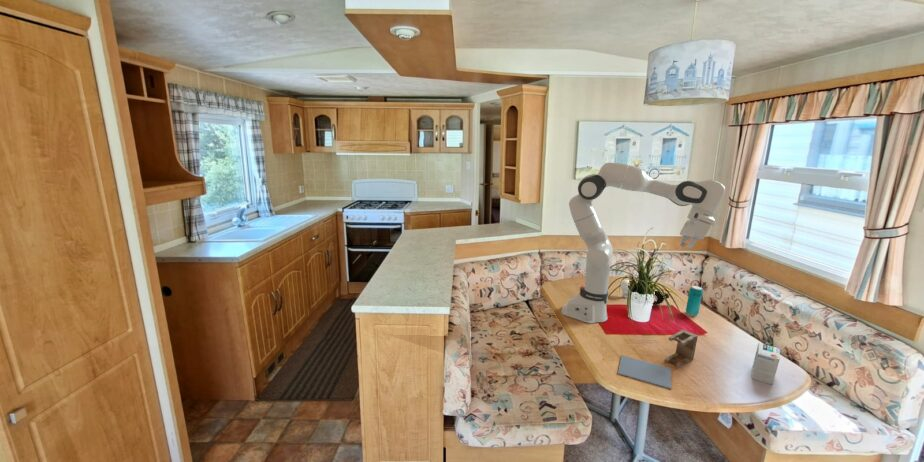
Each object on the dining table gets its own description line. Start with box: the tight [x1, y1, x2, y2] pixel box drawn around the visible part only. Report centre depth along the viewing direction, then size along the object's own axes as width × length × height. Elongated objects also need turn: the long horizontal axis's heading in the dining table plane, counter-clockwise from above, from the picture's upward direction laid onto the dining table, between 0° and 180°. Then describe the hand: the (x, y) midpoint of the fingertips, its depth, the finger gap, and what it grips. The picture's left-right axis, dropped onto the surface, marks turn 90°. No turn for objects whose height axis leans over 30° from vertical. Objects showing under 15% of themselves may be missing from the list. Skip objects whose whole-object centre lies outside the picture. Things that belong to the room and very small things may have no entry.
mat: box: [617, 355, 672, 390], centre depth 145 cm, size 18×14×1 cm
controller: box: [653, 291, 670, 305], centre depth 206 cm, size 4×12×10 cm, turn 26°
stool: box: [664, 329, 699, 369], centre depth 152 cm, size 12×6×11 cm, turn 125°
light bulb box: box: [751, 342, 781, 386], centre depth 144 cm, size 11×7×11 cm, turn 140°
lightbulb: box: [619, 279, 630, 299], centre depth 213 cm, size 6×6×11 cm
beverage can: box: [685, 285, 704, 317], centre depth 194 cm, size 6×6×15 cm
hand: (685, 247), depth 161 cm, fingers open, 8 cm apart
